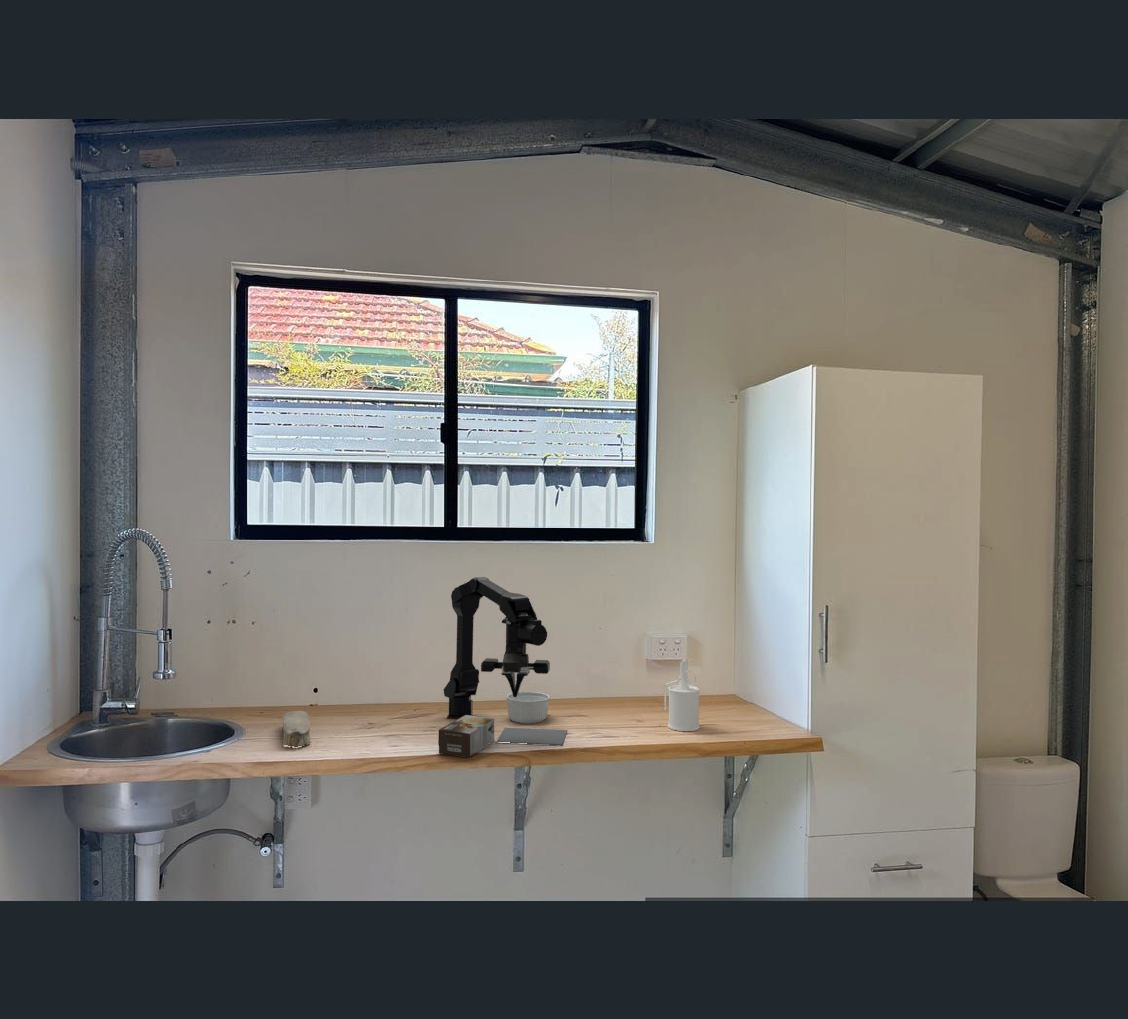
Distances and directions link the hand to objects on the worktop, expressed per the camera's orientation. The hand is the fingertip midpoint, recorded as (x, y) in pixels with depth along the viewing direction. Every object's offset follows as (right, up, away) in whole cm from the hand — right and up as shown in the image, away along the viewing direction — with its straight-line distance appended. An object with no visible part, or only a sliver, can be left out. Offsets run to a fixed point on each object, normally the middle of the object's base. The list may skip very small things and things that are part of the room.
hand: (515, 696), depth 217 cm
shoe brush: (-60, -11, -3) cm, 61 cm away
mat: (+5, -11, -1) cm, 12 cm away
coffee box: (-9, -8, -3) cm, 12 cm away
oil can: (+48, -12, +12) cm, 51 cm away
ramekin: (+3, -12, +19) cm, 22 cm away
